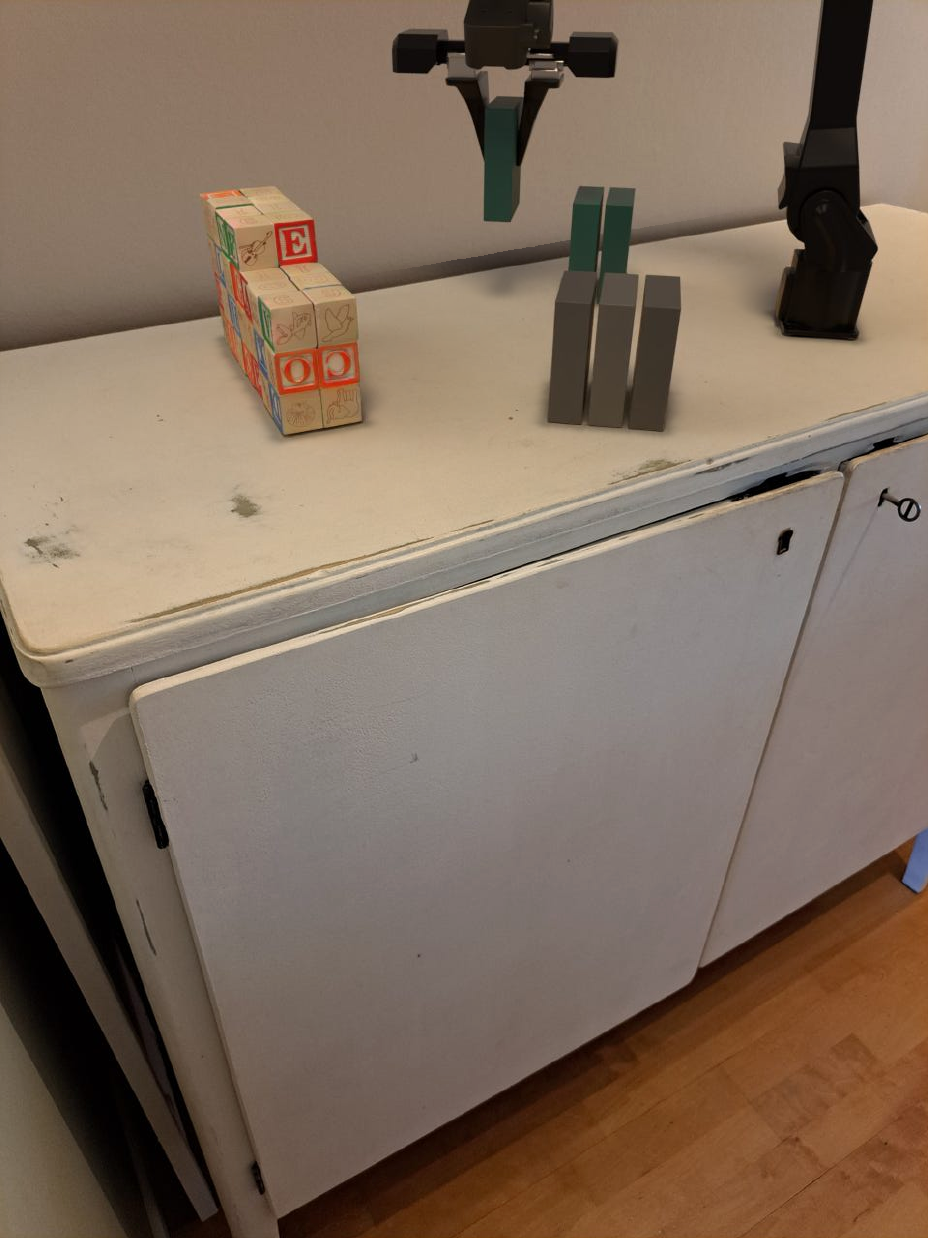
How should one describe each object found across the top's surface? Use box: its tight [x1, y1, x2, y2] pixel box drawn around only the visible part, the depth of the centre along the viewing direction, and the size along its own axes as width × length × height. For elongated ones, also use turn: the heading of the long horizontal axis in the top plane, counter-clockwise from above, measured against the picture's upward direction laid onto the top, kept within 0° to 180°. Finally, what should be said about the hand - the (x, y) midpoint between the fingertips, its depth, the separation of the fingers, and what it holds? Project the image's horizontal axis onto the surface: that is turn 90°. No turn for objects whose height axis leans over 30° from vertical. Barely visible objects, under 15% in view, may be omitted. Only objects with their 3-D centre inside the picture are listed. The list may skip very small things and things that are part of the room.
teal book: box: [483, 95, 524, 223], centre depth 81 cm, size 2×7×9 cm, turn 171°
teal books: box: [567, 185, 636, 305], centre depth 88 cm, size 6×7×9 cm
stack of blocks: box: [199, 185, 363, 436], centre depth 70 cm, size 21×6×12 cm, turn 23°
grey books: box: [547, 269, 682, 432], centre depth 67 cm, size 8×7×9 cm
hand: (503, 164), depth 82 cm, fingers closed on teal book, 2 cm apart
